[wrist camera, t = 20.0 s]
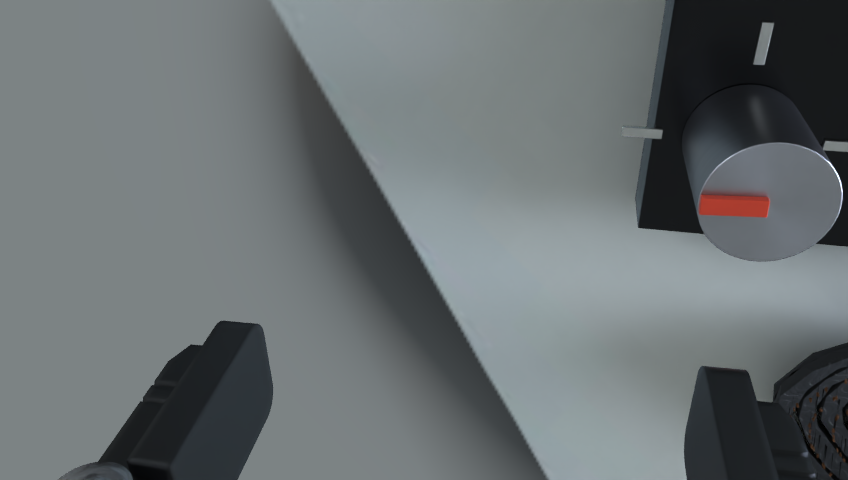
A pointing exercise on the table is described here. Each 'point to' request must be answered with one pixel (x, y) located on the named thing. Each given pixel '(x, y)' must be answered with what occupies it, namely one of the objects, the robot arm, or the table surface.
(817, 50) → the hob
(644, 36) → the table surface
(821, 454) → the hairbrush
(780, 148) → the hob knob
